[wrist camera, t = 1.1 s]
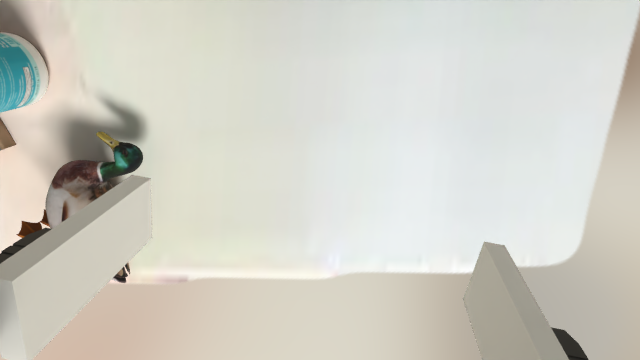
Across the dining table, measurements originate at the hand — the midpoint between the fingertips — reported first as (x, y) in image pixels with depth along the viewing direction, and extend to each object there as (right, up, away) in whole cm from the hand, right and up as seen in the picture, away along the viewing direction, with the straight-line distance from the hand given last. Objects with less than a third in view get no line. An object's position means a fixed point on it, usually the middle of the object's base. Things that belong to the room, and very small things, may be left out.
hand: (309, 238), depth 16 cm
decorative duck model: (-22, 0, +31) cm, 38 cm away
